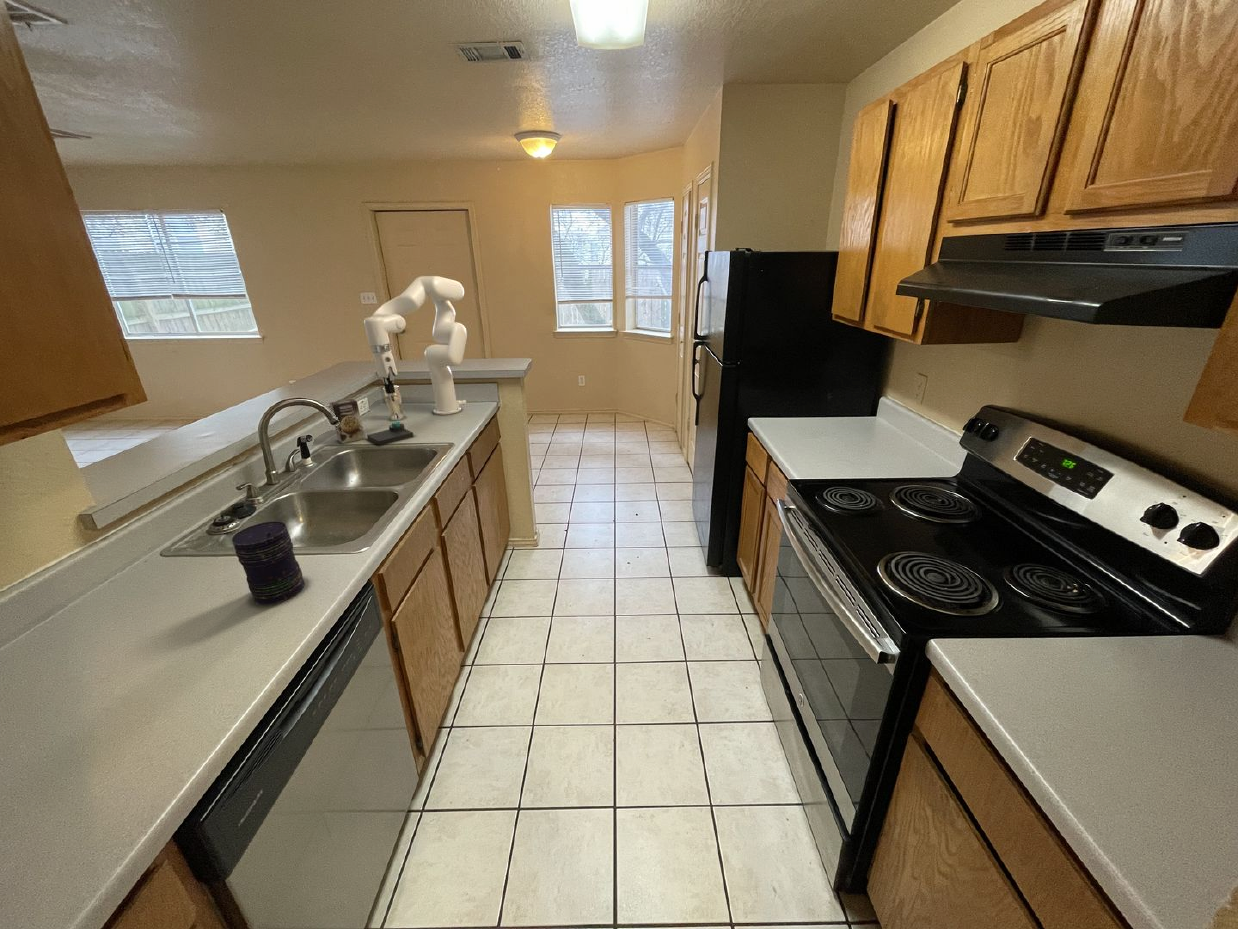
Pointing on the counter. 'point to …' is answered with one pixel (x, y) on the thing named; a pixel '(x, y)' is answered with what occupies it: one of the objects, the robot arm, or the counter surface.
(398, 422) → the scale button
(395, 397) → the beer glass
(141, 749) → the counter surface
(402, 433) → the scale
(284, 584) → the storage jar
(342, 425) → the cookie box
